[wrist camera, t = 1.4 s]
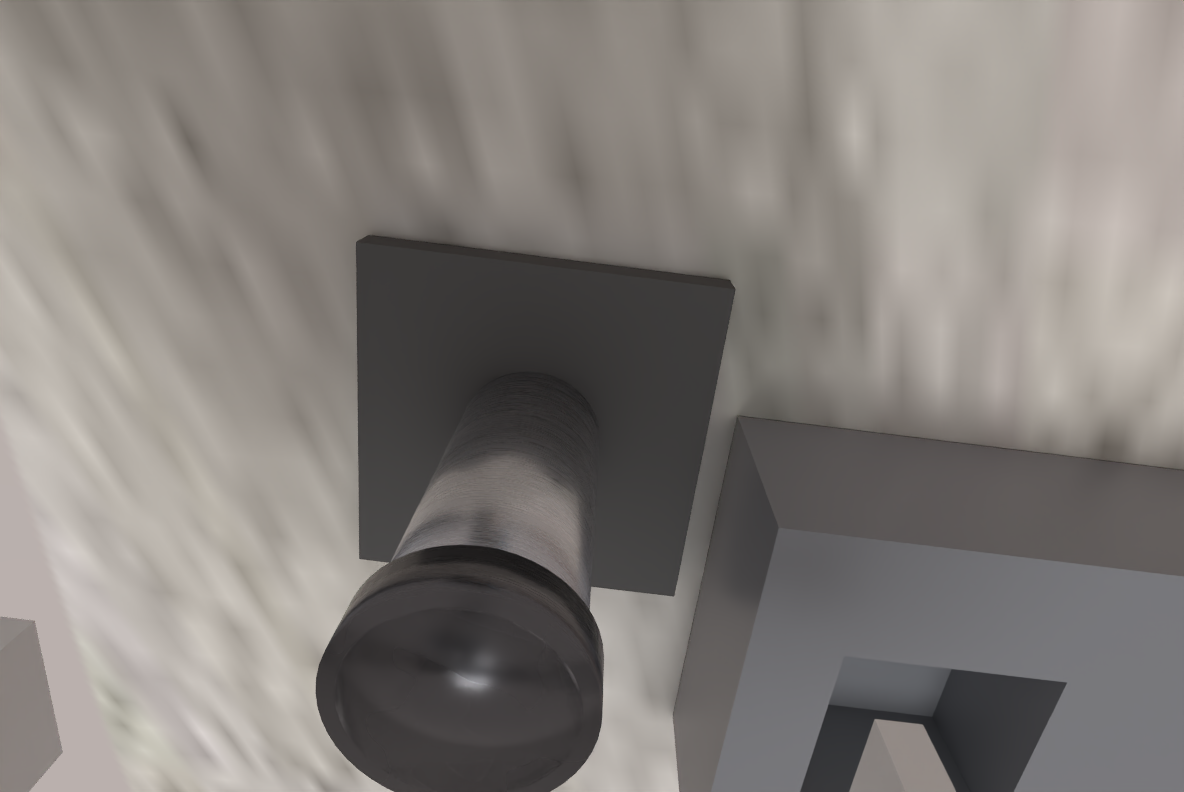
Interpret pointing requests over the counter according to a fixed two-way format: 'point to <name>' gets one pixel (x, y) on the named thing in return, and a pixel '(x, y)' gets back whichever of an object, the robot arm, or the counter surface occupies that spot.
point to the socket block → (935, 616)
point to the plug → (482, 610)
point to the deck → (546, 345)
